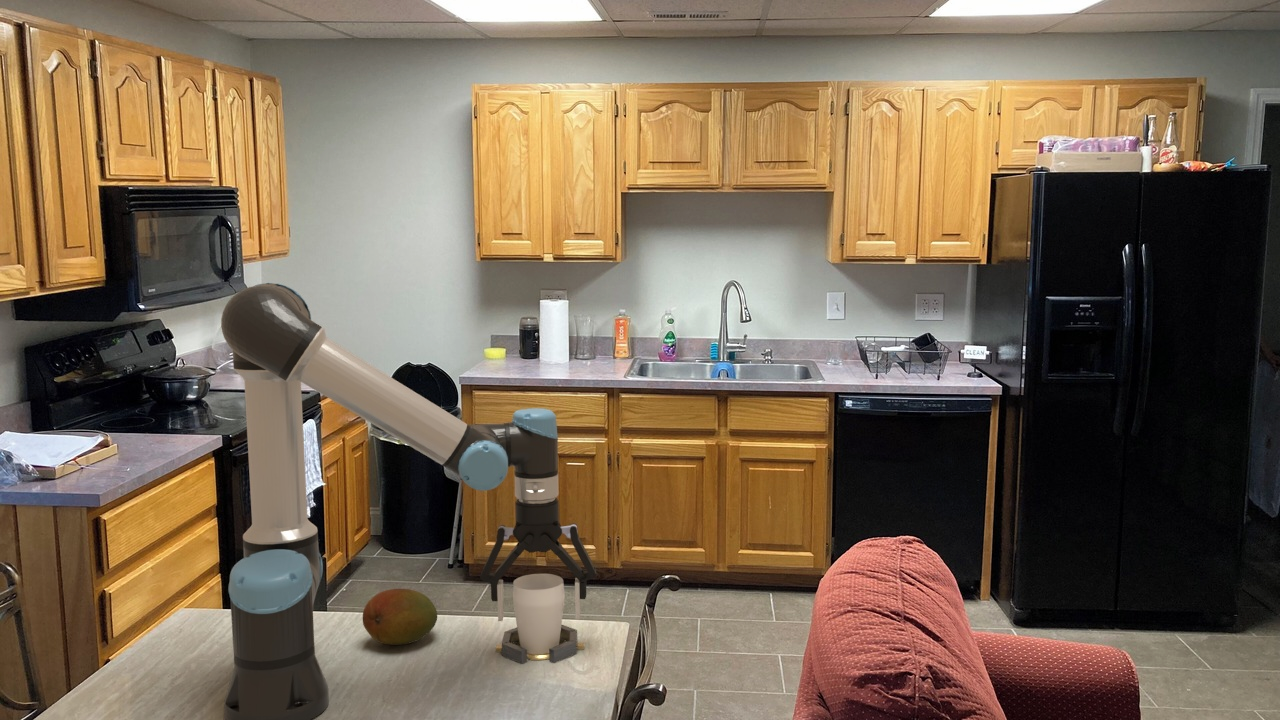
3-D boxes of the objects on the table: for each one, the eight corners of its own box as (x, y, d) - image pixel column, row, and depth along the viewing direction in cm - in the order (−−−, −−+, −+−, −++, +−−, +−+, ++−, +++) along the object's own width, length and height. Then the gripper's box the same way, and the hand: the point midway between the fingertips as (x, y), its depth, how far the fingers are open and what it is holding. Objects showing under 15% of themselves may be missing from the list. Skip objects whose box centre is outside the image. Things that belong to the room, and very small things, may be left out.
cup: (506, 656, 174) (505, 588, 173) (523, 636, 183) (521, 572, 181) (557, 659, 172) (555, 591, 171) (571, 639, 181) (570, 574, 180)
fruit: (353, 647, 179) (350, 593, 178) (402, 624, 190) (400, 572, 189) (402, 660, 173) (400, 604, 172) (450, 635, 184) (448, 582, 183)
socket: (492, 664, 171) (492, 652, 171) (499, 635, 184) (499, 624, 183) (583, 662, 171) (583, 649, 171) (584, 633, 184) (584, 622, 184)
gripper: (461, 505, 170) (465, 627, 173) (608, 502, 171) (610, 623, 174) (467, 494, 178) (471, 611, 180) (608, 491, 179) (610, 608, 181)
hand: (539, 617), depth 177 cm, fingers open, 13 cm apart
